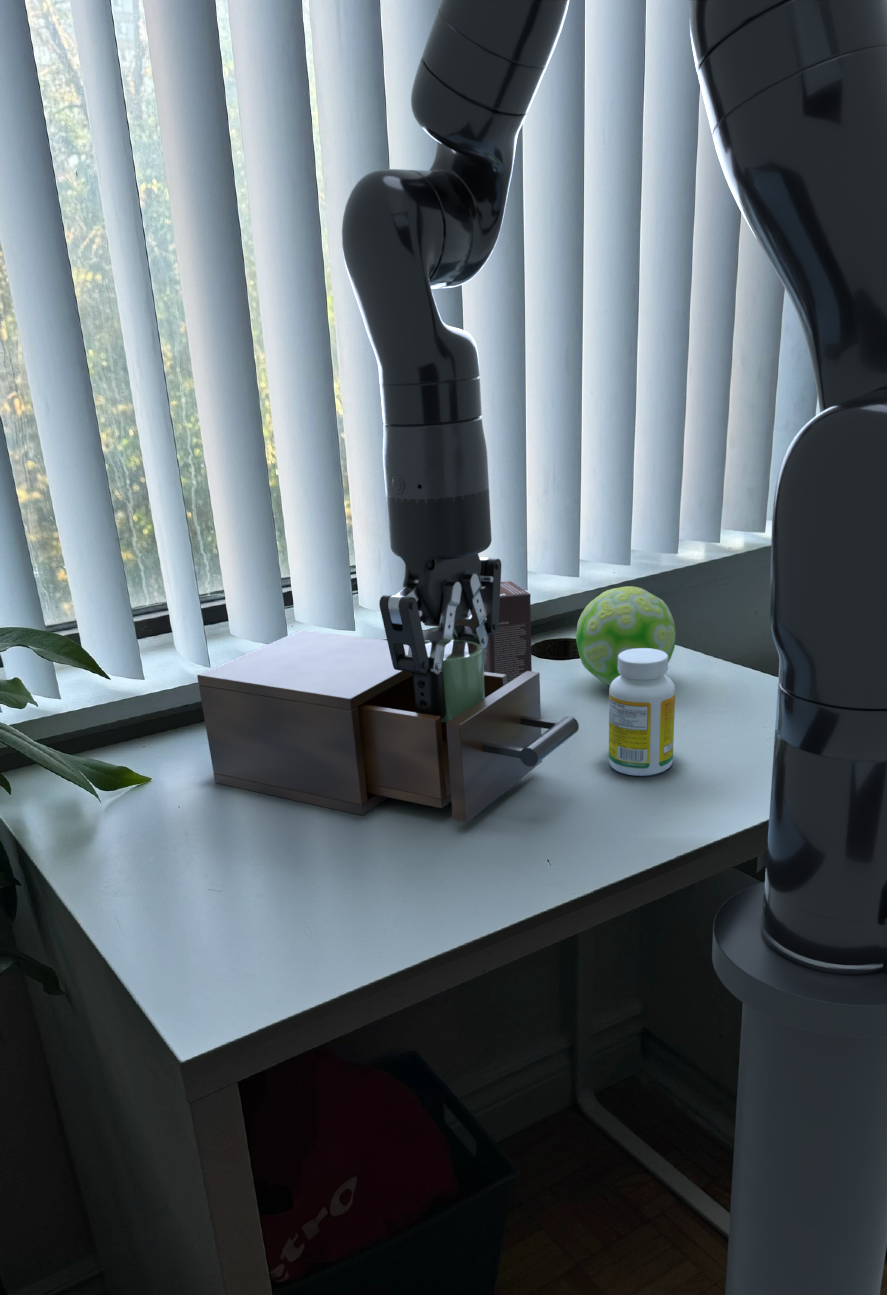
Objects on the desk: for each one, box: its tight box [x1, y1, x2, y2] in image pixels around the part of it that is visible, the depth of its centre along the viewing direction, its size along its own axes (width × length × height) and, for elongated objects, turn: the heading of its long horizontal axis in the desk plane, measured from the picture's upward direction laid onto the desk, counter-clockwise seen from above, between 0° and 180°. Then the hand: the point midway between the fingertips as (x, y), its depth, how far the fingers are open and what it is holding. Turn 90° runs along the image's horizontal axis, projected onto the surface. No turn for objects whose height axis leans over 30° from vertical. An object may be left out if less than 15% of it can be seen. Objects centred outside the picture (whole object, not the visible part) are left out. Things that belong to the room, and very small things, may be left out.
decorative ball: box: [575, 585, 677, 686], centre depth 107 cm, size 10×10×10 cm
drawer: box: [357, 670, 580, 824], centre depth 86 cm, size 19×13×8 cm, turn 58°
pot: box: [425, 639, 486, 723], centre depth 84 cm, size 5×5×5 cm
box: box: [483, 580, 533, 683], centre depth 102 cm, size 6×4×12 cm
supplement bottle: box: [608, 648, 676, 777], centre depth 89 cm, size 5×5×10 cm
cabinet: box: [196, 629, 413, 816], centre depth 93 cm, size 16×14×10 cm
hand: (452, 704), depth 85 cm, fingers closed on pot, 5 cm apart
